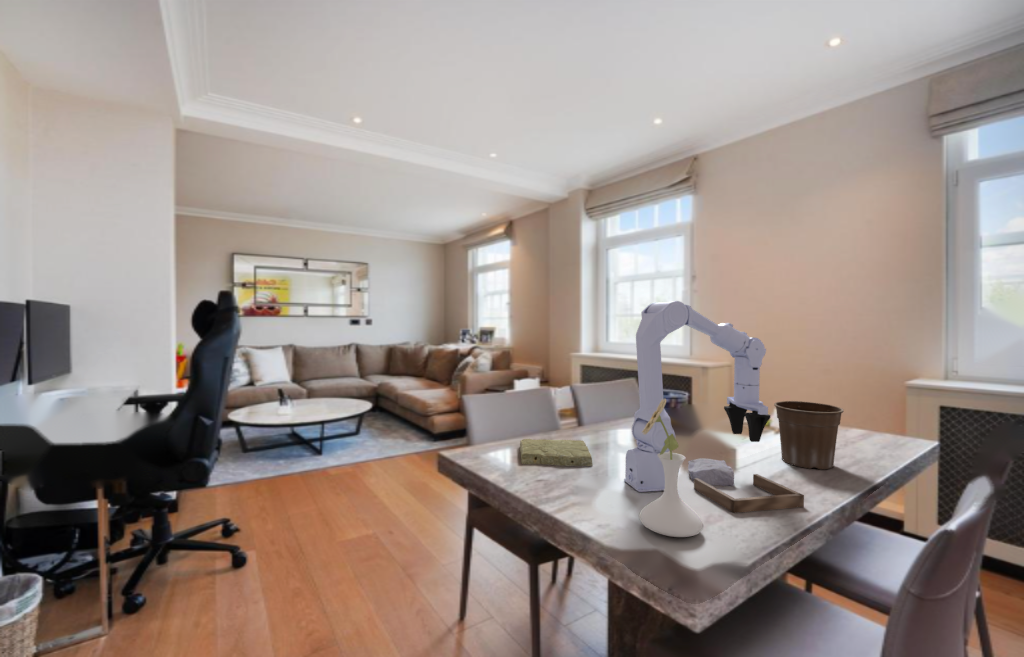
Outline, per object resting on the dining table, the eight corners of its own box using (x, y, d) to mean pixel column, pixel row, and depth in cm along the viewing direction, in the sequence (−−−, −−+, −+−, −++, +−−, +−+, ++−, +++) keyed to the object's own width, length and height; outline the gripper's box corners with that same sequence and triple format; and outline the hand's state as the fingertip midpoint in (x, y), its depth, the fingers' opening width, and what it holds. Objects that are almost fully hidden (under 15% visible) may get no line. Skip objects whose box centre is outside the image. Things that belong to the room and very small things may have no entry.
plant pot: (831, 477, 114) (832, 414, 114) (763, 461, 126) (764, 404, 126) (850, 465, 124) (851, 407, 124) (786, 451, 137) (787, 399, 137)
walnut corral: (733, 513, 91) (733, 500, 91) (693, 488, 105) (694, 478, 105) (803, 506, 95) (804, 495, 95) (756, 484, 108) (756, 474, 108)
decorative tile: (519, 448, 139) (519, 437, 139) (584, 449, 139) (584, 438, 139) (519, 467, 121) (519, 454, 121) (594, 468, 120) (594, 455, 120)
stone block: (695, 492, 108) (739, 487, 106) (691, 472, 108) (734, 466, 107) (686, 477, 120) (725, 472, 118) (682, 459, 120) (721, 454, 118)
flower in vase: (657, 511, 92) (659, 390, 92) (713, 530, 84) (715, 397, 83) (622, 530, 83) (624, 396, 83) (681, 554, 75) (683, 405, 75)
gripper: (780, 388, 107) (779, 445, 107) (745, 380, 121) (744, 430, 121) (752, 388, 106) (751, 445, 106) (719, 380, 121) (719, 430, 121)
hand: (745, 437), depth 114 cm, fingers open, 7 cm apart
